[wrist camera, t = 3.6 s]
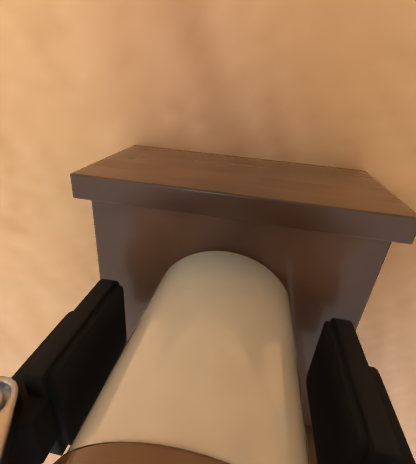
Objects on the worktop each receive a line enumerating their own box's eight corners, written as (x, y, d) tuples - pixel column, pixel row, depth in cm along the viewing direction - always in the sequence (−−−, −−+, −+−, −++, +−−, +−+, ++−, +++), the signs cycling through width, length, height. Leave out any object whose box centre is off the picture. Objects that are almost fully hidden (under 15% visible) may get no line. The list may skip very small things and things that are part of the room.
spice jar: (310, 258, 10) (406, 612, 3) (280, 370, 12) (298, 701, 6) (152, 235, 10) (-40, 489, 4) (154, 345, 13) (37, 615, 6)
